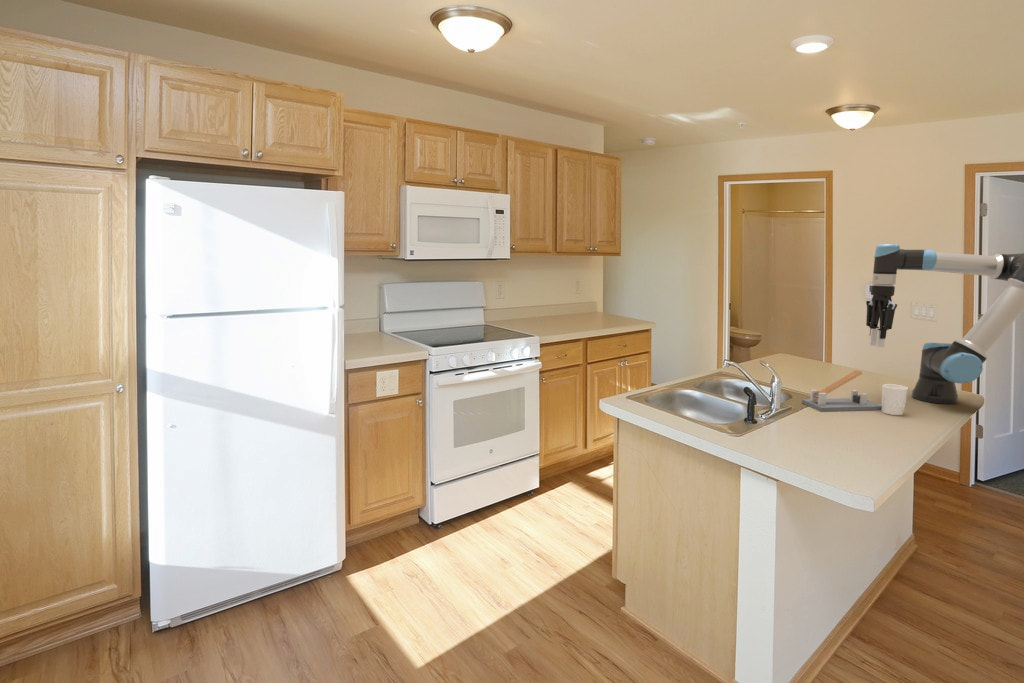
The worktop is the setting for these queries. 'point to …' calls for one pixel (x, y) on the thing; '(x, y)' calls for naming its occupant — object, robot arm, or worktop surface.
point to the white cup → (893, 399)
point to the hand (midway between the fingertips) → (876, 346)
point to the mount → (841, 403)
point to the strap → (839, 383)
